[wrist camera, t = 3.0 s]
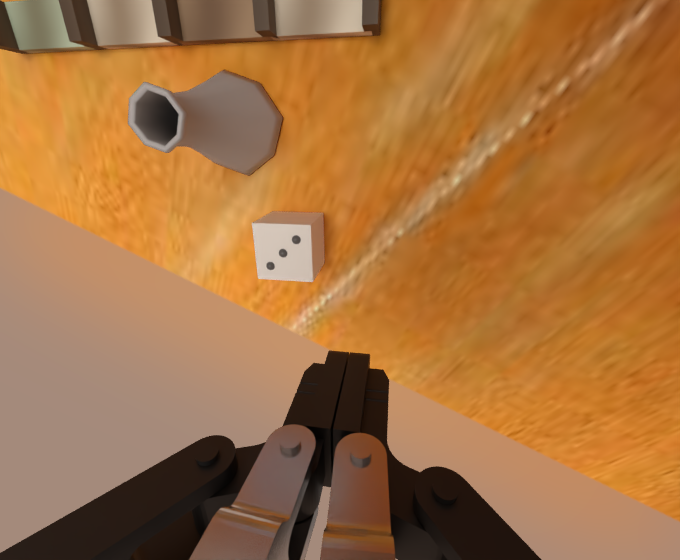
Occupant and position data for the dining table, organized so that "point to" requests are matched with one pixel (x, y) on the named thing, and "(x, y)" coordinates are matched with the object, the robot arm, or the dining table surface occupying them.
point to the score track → (177, 22)
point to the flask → (210, 120)
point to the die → (289, 245)
